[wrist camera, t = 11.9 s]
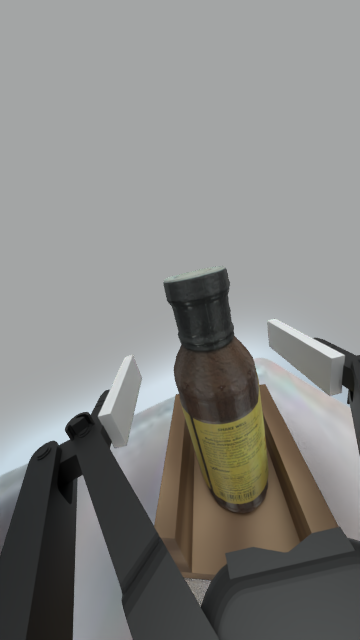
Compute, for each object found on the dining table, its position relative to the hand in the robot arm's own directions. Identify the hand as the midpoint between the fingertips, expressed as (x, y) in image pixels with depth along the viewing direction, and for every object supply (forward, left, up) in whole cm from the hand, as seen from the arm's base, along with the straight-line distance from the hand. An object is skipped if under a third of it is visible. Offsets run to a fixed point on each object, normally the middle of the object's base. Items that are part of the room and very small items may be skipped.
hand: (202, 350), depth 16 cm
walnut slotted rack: (+1, -3, -13) cm, 14 cm away
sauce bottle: (+1, -3, -13) cm, 13 cm away
